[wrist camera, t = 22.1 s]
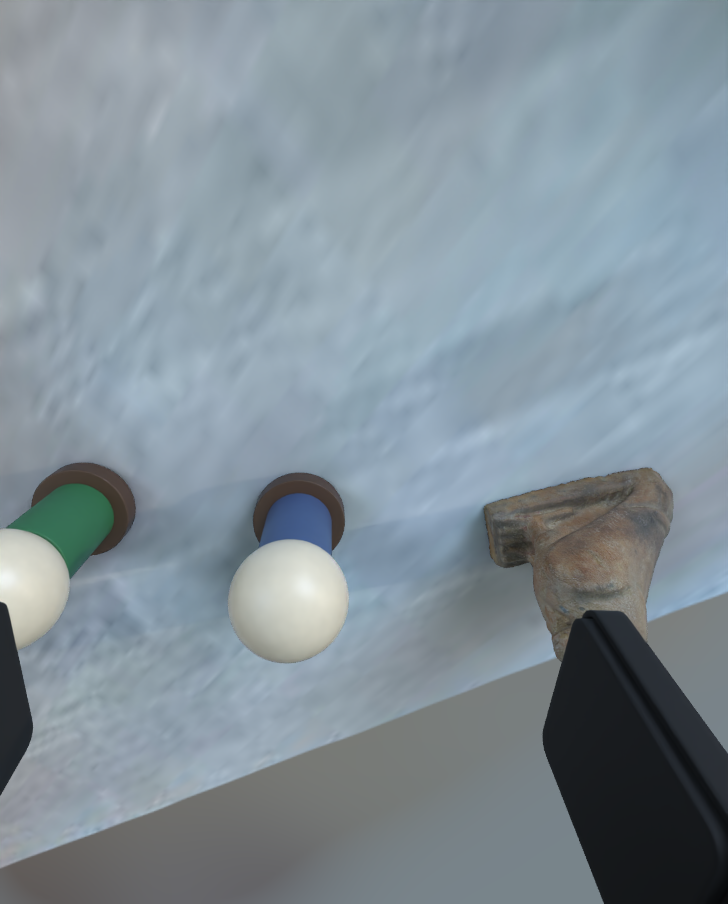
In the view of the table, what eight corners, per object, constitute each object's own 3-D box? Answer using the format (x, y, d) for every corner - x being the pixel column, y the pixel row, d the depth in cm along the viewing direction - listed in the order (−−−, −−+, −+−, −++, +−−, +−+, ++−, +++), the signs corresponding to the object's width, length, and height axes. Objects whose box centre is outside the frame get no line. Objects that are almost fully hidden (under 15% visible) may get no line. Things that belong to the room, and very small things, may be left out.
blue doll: (216, 575, 22) (217, 690, 24) (354, 580, 23) (346, 692, 24) (256, 470, 34) (255, 551, 36) (346, 474, 35) (341, 554, 36)
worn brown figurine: (484, 539, 40) (499, 775, 24) (481, 472, 38) (495, 684, 22) (662, 535, 38) (809, 794, 22) (670, 464, 36) (840, 694, 20)
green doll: (-127, 564, 21) (-101, 684, 23) (24, 569, 22) (39, 686, 23) (37, 460, 33) (47, 544, 35) (133, 464, 34) (138, 547, 35)
